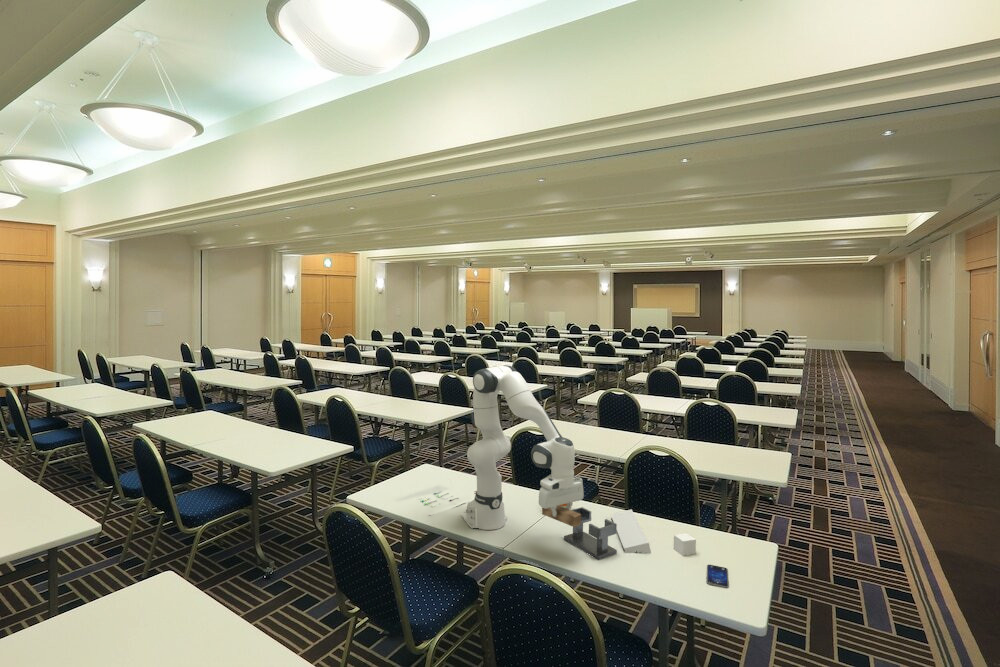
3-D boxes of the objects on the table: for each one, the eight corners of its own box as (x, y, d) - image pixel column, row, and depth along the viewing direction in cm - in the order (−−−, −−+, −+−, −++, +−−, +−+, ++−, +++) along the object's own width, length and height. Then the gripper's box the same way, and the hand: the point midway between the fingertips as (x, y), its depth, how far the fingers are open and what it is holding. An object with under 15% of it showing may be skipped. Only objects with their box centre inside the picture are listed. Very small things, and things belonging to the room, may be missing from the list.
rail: (542, 514, 206) (542, 504, 205) (548, 511, 208) (548, 501, 208) (574, 527, 194) (574, 517, 194) (580, 524, 197) (581, 514, 197)
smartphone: (727, 567, 193) (728, 587, 179) (727, 570, 193) (728, 590, 179) (706, 563, 196) (706, 582, 182) (706, 566, 196) (706, 585, 182)
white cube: (685, 547, 210) (686, 533, 210) (695, 554, 205) (696, 539, 204) (673, 549, 209) (673, 534, 208) (682, 556, 203) (683, 541, 203)
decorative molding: (626, 559, 205) (651, 554, 205) (623, 548, 205) (648, 542, 204) (613, 524, 239) (634, 519, 239) (610, 514, 239) (631, 509, 238)
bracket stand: (563, 539, 216) (564, 511, 215) (581, 534, 221) (582, 506, 221) (598, 560, 199) (598, 529, 198) (616, 553, 204) (617, 524, 203)
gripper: (577, 473, 209) (575, 506, 210) (536, 481, 198) (535, 516, 199) (587, 478, 203) (586, 512, 204) (546, 486, 192) (545, 522, 193)
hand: (561, 514), depth 201 cm, fingers closed on rail, 4 cm apart
